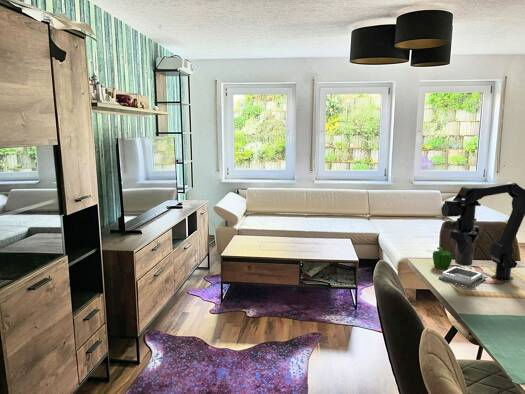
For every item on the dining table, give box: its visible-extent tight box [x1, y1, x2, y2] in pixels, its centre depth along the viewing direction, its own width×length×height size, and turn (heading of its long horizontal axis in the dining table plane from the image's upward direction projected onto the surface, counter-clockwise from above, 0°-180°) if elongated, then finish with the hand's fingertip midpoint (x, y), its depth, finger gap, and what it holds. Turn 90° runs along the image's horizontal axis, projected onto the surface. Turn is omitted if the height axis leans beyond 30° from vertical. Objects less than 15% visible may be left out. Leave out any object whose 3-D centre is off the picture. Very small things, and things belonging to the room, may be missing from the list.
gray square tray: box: [438, 266, 487, 288], centre depth 175 cm, size 14×14×3 cm
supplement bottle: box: [454, 236, 475, 267], centre depth 173 cm, size 7×7×12 cm
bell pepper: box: [432, 246, 453, 270], centre depth 190 cm, size 8×8×10 cm
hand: (464, 251), depth 173 cm, fingers closed on supplement bottle, 7 cm apart
